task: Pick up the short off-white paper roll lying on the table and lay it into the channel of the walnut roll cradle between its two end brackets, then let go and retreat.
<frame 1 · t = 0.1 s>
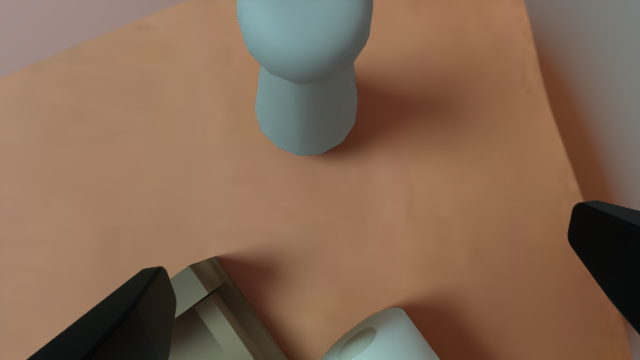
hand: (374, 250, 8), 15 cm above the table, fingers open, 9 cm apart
salt shaker: (306, 118, 24), on the table
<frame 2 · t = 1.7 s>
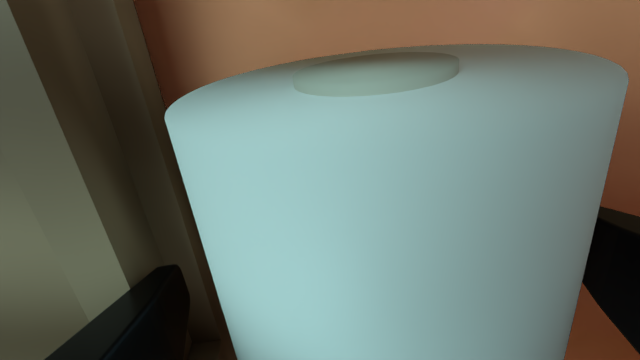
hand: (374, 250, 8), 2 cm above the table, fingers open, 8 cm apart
roll: (353, 209, 10), on the table
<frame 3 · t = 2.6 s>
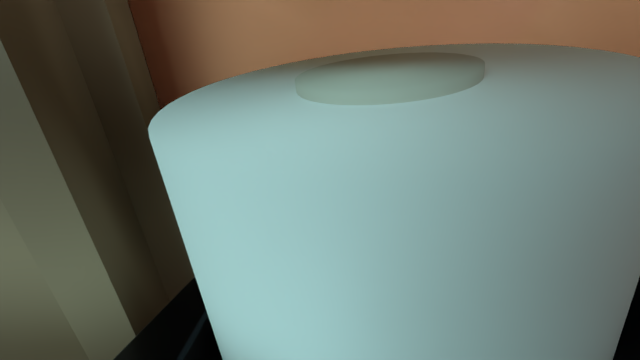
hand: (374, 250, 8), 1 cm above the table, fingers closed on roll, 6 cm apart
roll: (360, 219, 9), on the table, touching gripper
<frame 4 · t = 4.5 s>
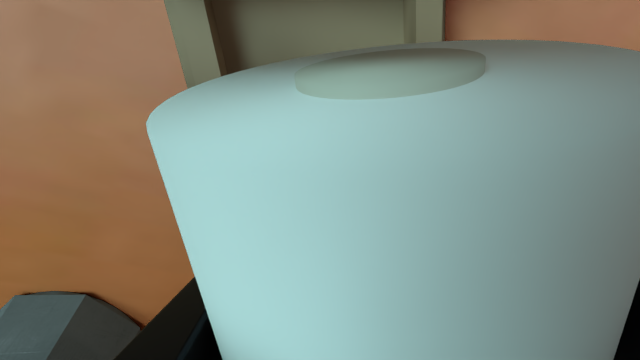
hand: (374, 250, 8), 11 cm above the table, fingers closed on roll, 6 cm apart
coffeepot: (75, 331, 22), on the table
roll: (360, 217, 9), point 9 cm above the table, touching gripper
cradle: (321, 115, 18), on the table
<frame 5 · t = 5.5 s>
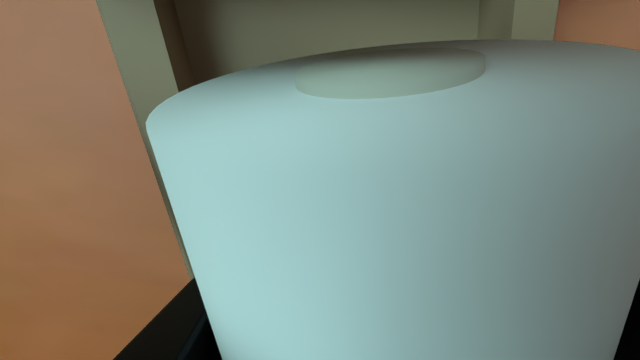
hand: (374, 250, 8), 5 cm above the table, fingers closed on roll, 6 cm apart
roll: (360, 216, 9), point 3 cm above the table, touching gripper
cradle: (343, 165, 12), on the table
when the fingers open (4 cm above the table, at t = 6.5 s): roll drops 1 cm, resting on cradle.
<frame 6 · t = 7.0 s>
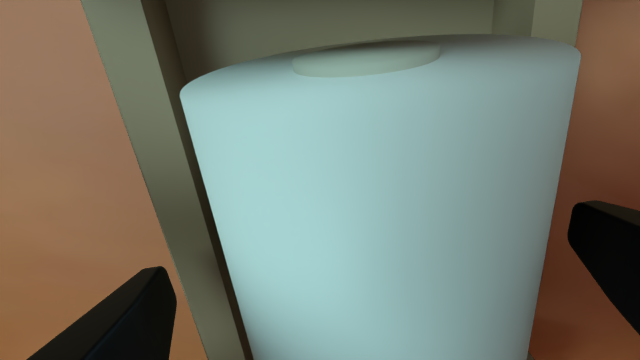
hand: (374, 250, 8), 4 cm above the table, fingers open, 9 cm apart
roll: (350, 191, 11), point 1 cm above the table, touching cradle
cradle: (346, 176, 12), on the table
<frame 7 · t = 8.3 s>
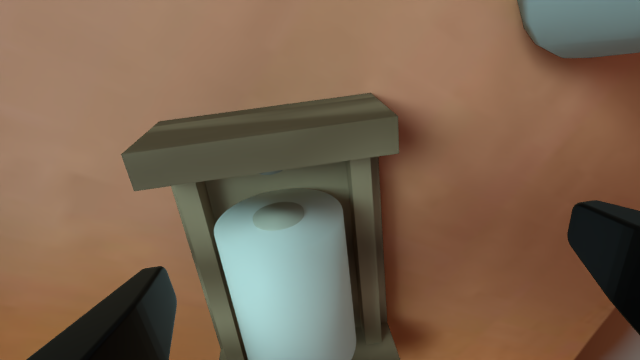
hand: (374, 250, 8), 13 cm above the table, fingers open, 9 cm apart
roll: (289, 251, 22), point 1 cm above the table, touching cradle
cradle: (289, 241, 23), on the table
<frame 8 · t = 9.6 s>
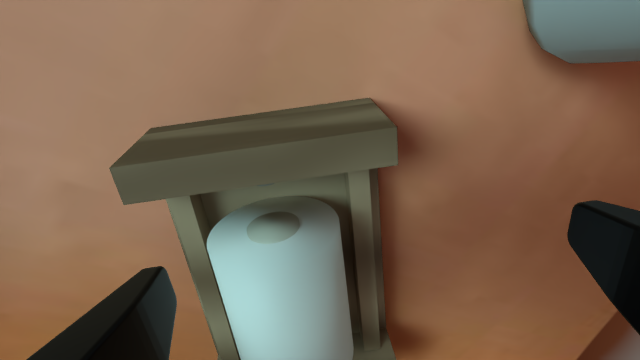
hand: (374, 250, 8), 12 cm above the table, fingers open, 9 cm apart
roll: (286, 258, 21), point 1 cm above the table, touching cradle
cradle: (286, 248, 22), on the table
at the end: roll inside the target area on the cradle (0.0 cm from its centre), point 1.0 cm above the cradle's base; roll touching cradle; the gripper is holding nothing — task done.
